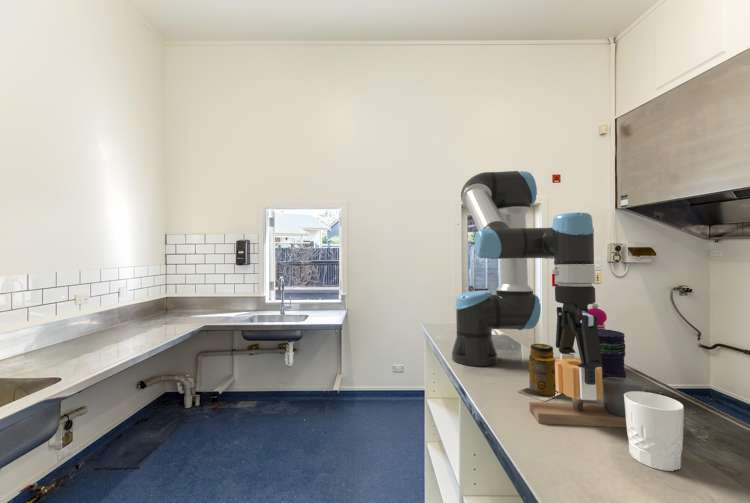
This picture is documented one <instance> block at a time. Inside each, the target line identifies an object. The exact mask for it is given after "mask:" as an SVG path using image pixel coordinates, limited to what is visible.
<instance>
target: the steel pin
mask: <svg viewBox="0 0 750 503" xmlns="http://www.w3.org/2000/svg"><path fill="white" fill-rule="evenodd" d="M571 401H572V402H571V403H572V409H573V410H575V411H583V404H584V400H582V399H581V398H577V397H575V398H572V397H571Z"/></svg>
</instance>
